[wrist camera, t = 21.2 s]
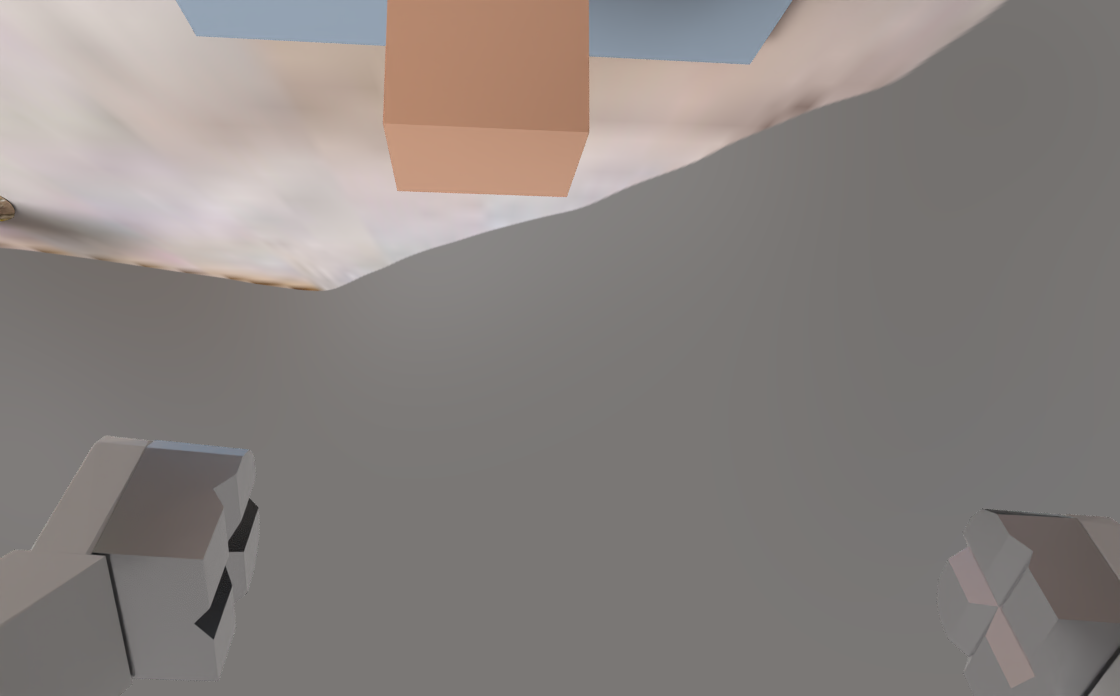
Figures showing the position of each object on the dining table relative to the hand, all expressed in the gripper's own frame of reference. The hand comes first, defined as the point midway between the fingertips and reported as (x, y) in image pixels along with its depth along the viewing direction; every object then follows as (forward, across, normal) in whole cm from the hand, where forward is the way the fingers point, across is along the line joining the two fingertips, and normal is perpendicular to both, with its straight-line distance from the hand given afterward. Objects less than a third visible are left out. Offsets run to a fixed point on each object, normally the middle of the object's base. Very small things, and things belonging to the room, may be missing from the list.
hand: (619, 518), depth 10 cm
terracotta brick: (+19, -2, +4) cm, 20 cm away
